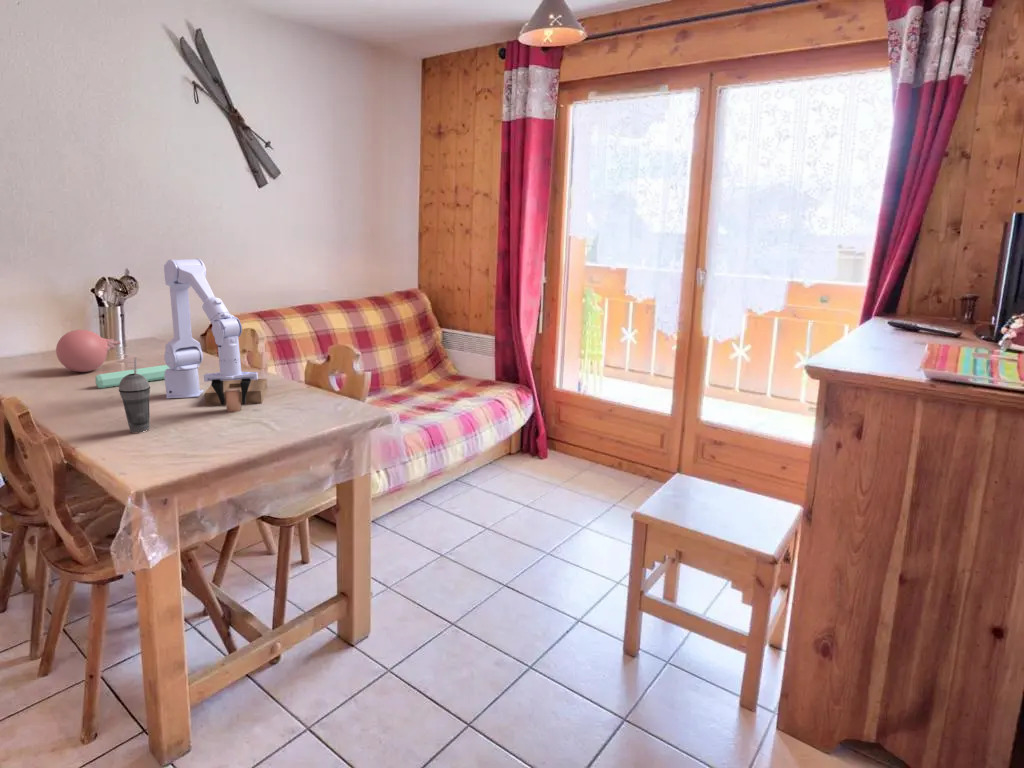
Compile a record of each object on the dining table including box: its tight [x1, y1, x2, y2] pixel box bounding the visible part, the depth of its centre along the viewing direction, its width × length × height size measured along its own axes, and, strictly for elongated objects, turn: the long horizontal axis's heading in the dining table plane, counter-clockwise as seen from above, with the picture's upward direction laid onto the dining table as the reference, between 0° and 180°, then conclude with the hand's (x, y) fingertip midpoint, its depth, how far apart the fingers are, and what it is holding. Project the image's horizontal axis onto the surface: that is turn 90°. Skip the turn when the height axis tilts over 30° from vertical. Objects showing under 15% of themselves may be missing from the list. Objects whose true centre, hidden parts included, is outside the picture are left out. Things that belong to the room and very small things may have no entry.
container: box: [94, 364, 170, 389], centre depth 220 cm, size 6×6×25 cm
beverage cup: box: [118, 357, 151, 433], centre depth 169 cm, size 7×7×20 cm
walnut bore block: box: [204, 378, 269, 407], centre depth 204 cm, size 16×16×4 cm
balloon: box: [55, 329, 121, 373], centre depth 233 cm, size 15×20×15 cm
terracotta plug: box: [225, 389, 242, 413], centre depth 191 cm, size 4×4×6 cm
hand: (233, 403), depth 191 cm, fingers open, 5 cm apart
